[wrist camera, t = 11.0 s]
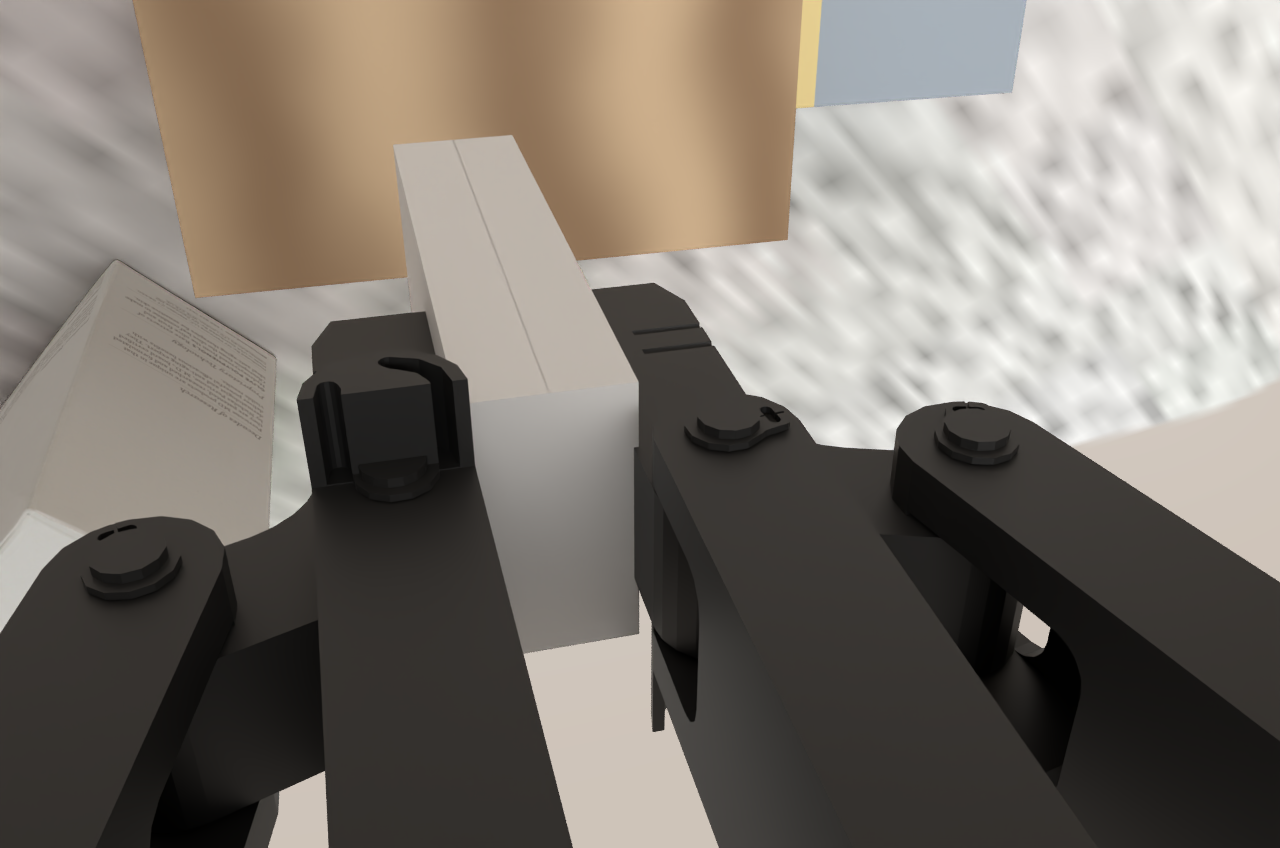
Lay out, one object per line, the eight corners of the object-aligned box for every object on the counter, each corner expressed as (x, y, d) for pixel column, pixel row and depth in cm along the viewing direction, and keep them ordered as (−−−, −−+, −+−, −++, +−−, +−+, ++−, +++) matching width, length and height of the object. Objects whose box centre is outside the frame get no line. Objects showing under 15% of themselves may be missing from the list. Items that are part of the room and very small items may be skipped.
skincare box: (148, 515, 44) (86, 858, 31) (-31, 424, 41) (-183, 765, 28) (286, 349, 42) (282, 642, 29) (110, 239, 39) (17, 514, 26)
